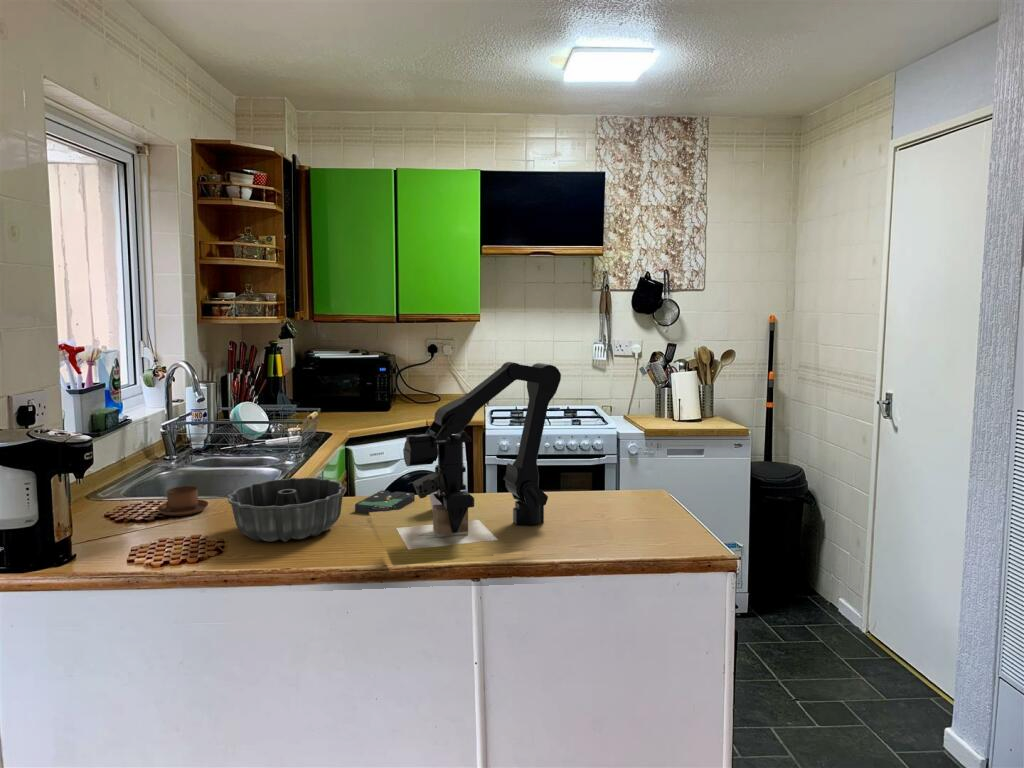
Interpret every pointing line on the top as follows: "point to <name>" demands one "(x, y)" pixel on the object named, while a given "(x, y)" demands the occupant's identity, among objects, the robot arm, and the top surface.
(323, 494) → the bundt pan
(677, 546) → the top surface
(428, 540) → the birch board
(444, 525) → the block
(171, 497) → the cup and saucer
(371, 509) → the disk drive
